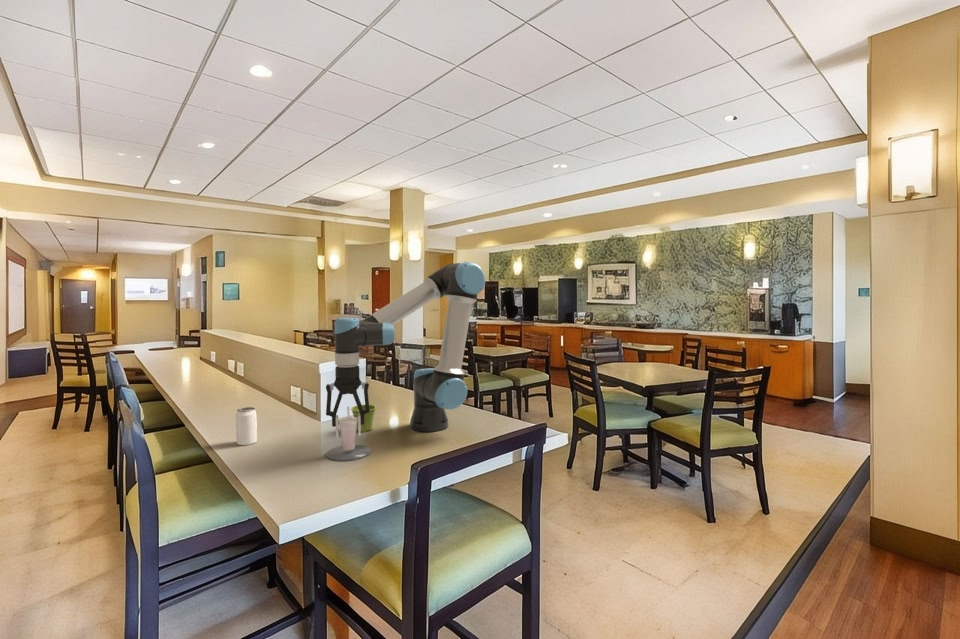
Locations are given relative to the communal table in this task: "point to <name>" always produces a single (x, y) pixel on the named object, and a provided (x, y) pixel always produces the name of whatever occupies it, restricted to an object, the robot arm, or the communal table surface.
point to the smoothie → (348, 431)
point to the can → (246, 426)
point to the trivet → (348, 453)
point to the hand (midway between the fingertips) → (348, 435)
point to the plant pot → (365, 417)
